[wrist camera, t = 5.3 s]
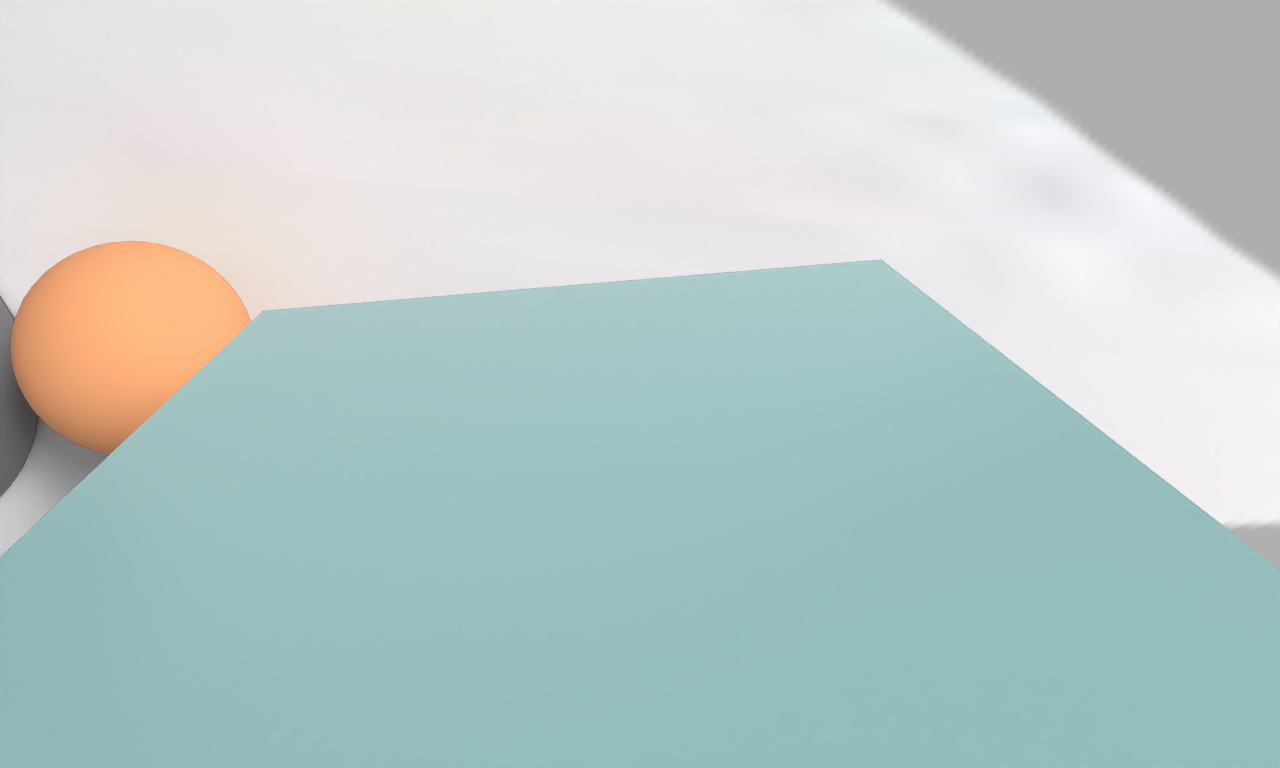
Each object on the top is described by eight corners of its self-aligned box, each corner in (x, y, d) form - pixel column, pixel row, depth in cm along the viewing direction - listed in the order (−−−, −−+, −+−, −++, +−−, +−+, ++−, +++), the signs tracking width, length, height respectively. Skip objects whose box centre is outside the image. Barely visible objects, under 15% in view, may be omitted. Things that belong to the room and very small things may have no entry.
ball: (302, 391, 25) (243, 476, 21) (117, 419, 25) (15, 512, 20) (248, 206, 23) (170, 255, 19) (47, 236, 23) (-83, 293, 19)
